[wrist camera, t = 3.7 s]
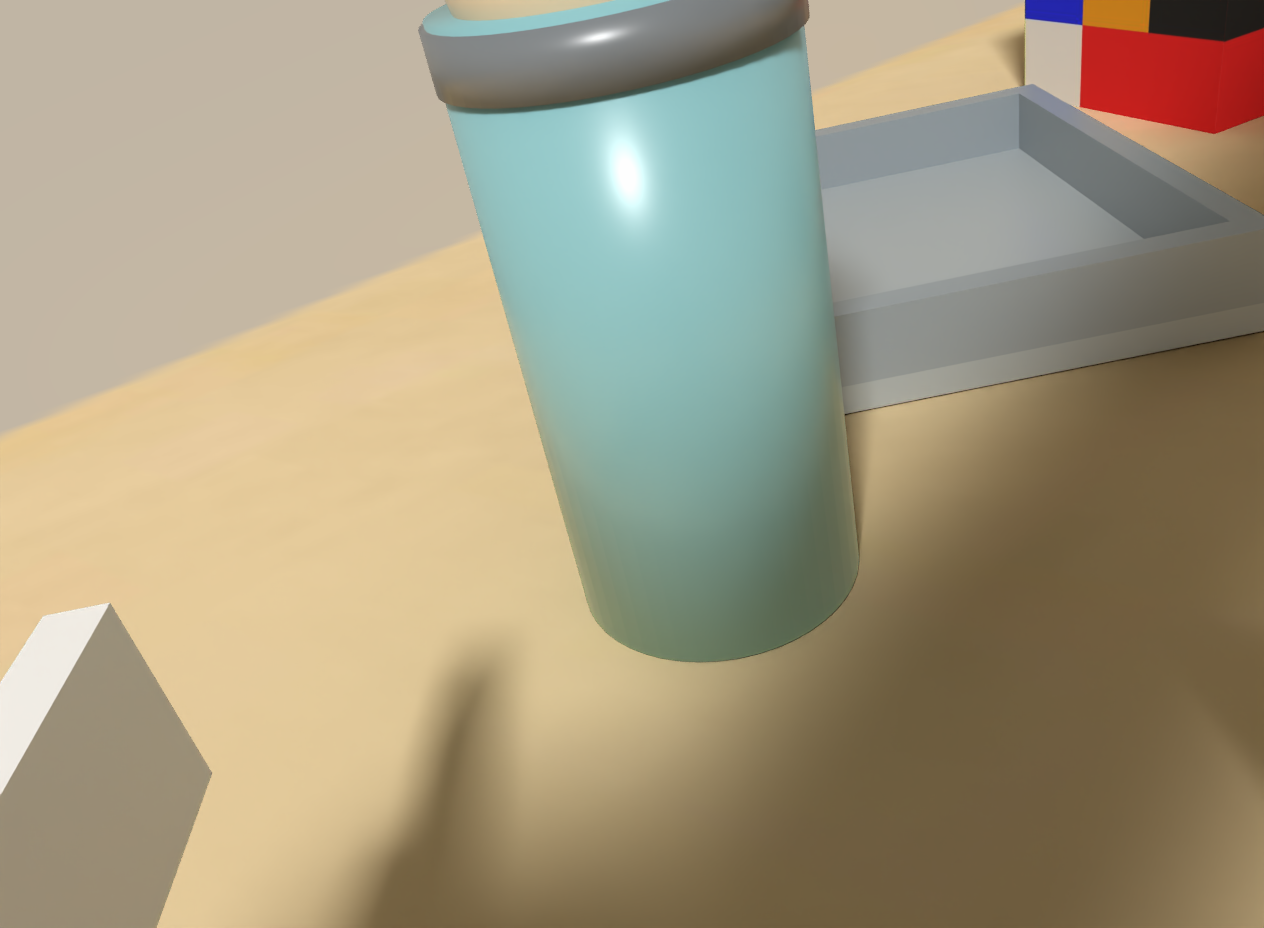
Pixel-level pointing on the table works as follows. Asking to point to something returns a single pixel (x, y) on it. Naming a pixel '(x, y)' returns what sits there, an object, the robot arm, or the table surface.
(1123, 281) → the tray
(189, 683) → the table surface
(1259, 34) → the puzzle toy
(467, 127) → the ball tube
